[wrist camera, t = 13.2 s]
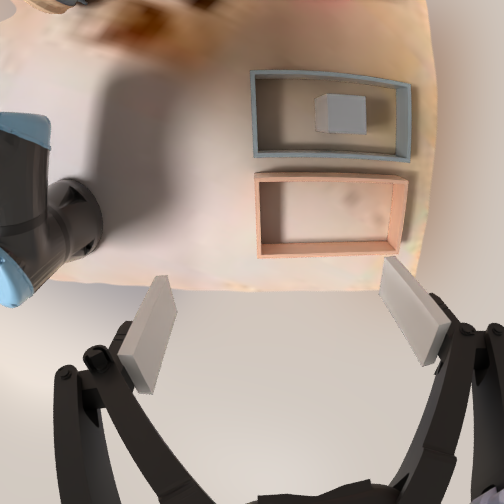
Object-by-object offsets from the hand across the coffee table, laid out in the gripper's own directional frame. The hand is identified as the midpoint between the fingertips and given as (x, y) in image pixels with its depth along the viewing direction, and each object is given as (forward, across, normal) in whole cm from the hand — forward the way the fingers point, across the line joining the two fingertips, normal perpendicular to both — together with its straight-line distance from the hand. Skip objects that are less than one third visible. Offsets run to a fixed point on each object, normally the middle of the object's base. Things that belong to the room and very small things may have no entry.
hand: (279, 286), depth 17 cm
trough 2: (+28, +11, -5) cm, 31 cm away
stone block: (+28, +11, +10) cm, 32 cm away
